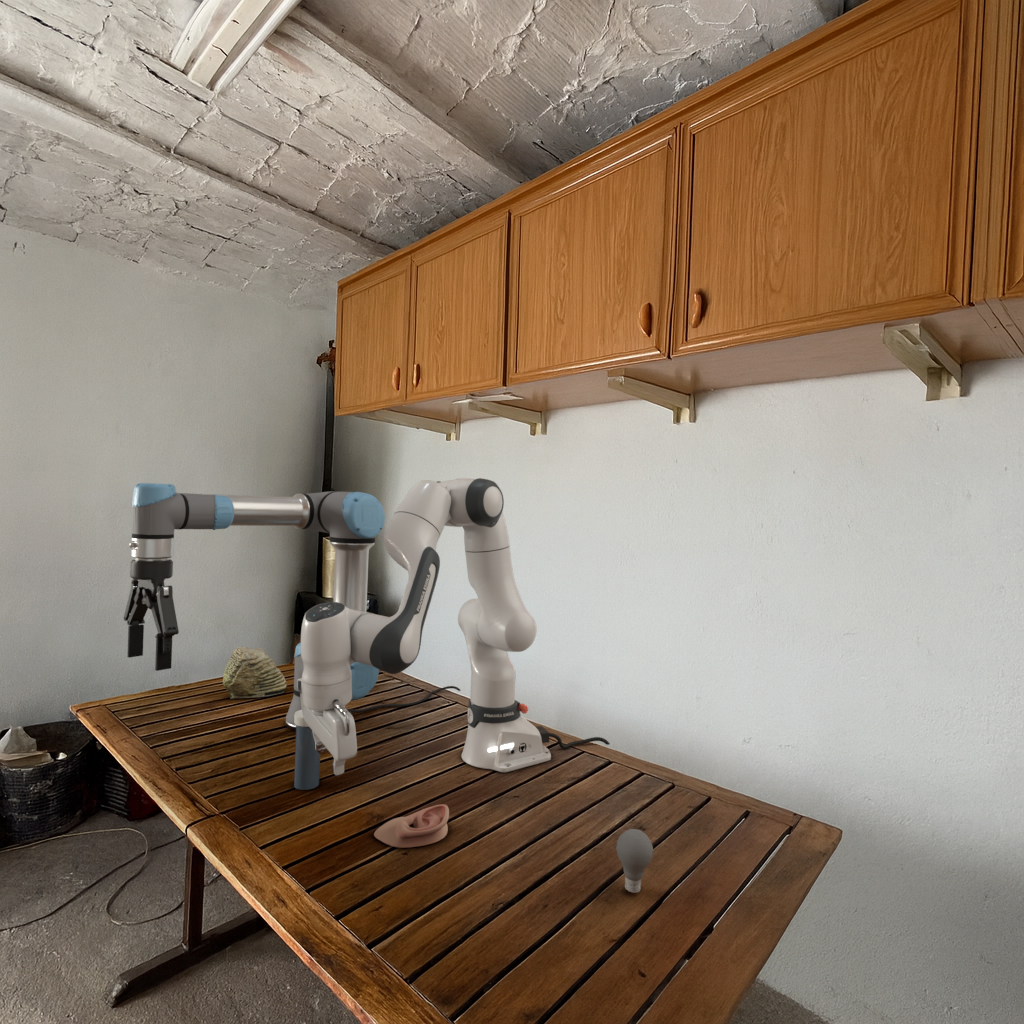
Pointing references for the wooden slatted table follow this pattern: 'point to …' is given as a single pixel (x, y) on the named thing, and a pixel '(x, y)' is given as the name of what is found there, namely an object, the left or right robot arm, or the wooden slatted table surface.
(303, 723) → the lid
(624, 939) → the wooden slatted table surface
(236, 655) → the fossil
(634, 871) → the light bulb
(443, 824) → the anatomical model
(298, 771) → the jar
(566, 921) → the wooden slatted table surface
